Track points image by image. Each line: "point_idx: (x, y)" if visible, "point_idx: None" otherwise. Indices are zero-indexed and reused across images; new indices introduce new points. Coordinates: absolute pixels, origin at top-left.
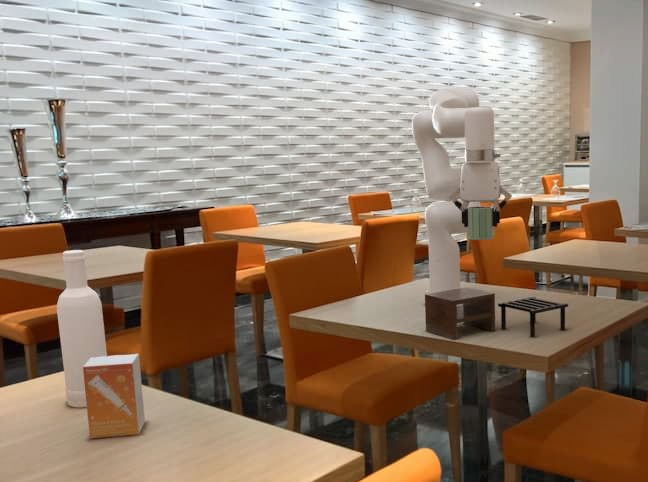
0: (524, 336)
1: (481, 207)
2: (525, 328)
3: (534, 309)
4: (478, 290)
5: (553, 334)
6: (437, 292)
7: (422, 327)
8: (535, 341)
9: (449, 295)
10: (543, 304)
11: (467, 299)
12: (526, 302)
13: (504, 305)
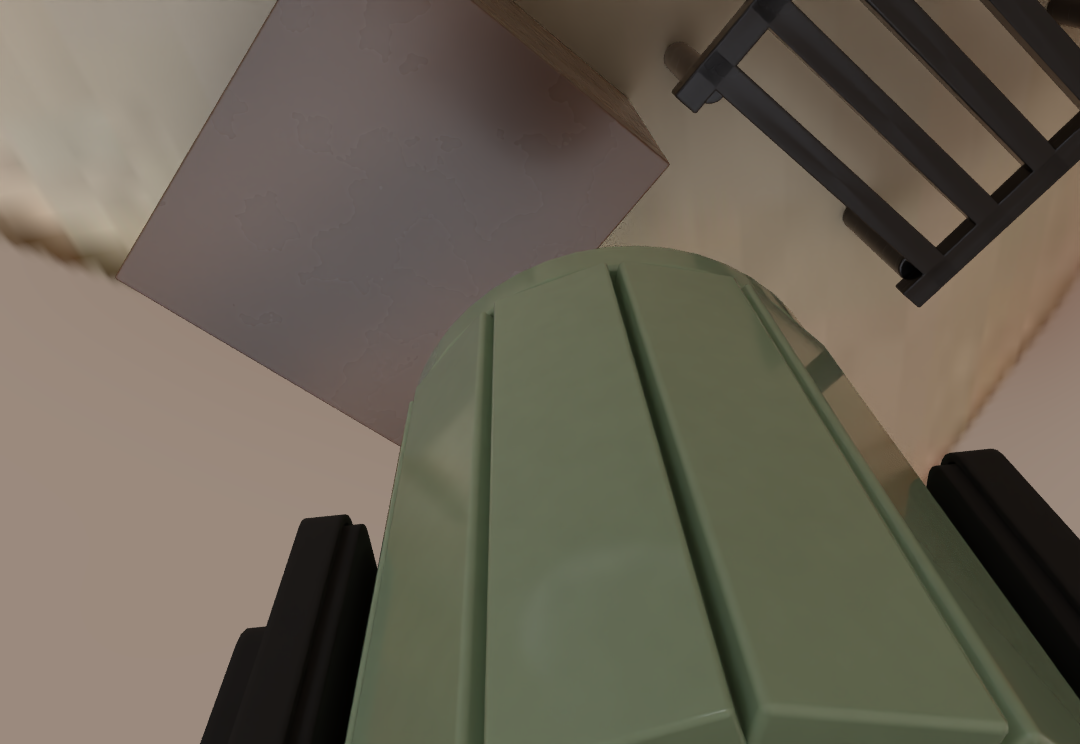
0: (810, 210)
1: (730, 742)
2: (820, 4)
3: (938, 260)
4: (506, 48)
5: (982, 137)
6: (178, 190)
7: (135, 87)
8: (866, 301)
9: (327, 293)
10: (1028, 47)
11: None
12: (901, 20)
13: (722, 97)
